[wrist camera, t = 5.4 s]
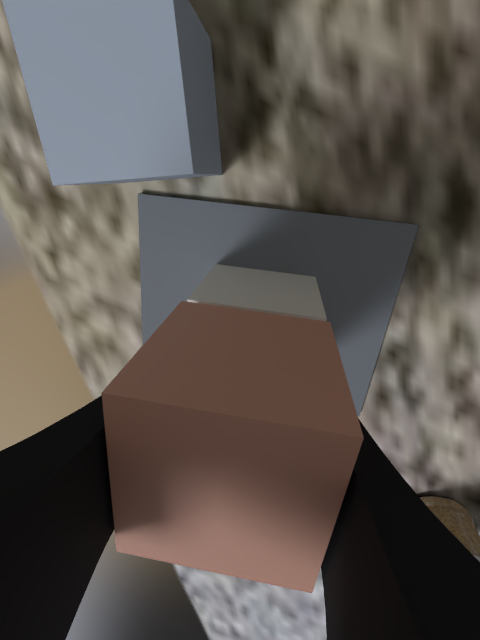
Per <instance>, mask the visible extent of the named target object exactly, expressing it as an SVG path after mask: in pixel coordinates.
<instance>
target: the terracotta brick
mask: <svg viewBox="0 0 480 640" xmlns="http://www.w3.org/2000/svg"><path fill="white" fill-rule="evenodd" d="M102 403H103V414H104V424H105V435H106V445H107V456H108V466H109V477H110V487H111V497H112V508H113V518H114V529H115V539H116V550H117V552H122V553H126V554H131V555H136V556H140V557H145V558H150V559H155V560H159V561H164V562H169V563H173V564H178V565H183V566H187V567H192V568H197V569H201V570H206V571H211V572H215V573H220V574H225V575H229V576H234V577H239V578H244V579H248V580H253V581H258V582H262V583H267V584H272V585H276V586H281V587H286V588H290V589H295V590H300V591H305V592H309V593H312V592H313V589H314V586H315V583H316V580H317V577H318V574H319V571H320V568H321V565H322V562H323V559H324V556H325V553H326V550H327V547H328V544H329V541H330V538H331V535H332V532H333V529H334V526H335V523H336V520H337V517H338V514H339V511H340V508H341V505H342V502H343V499H344V496H345V493H346V490H347V487H348V484H349V481H350V478H351V475H352V472H353V469H354V466H355V463H356V460H357V457H358V454H359V451H360V448H361V445H362V442H363V439H364V437H363V434H362V430H361V427H360V423H359V420H358V416H357V413H356V409H355V406H354V402H353V399H352V395H351V392H350V389H349V385H348V382H347V378H346V375H345V371H344V368H343V364H342V361H341V357H340V354H339V350H338V347H337V343H336V340H335V336H334V333H333V329H332V326H331V322H327V321H320V320H313V319H306V318H299V317H292V316H285V315H278V314H271V313H264V312H257V311H250V310H243V309H236V308H229V307H222V306H215V305H208V304H201V303H194V302H187V301H181V302H180V303H179V304H178V306H177V307H176V308H175V309H174V310H173V311H172V312H171V314H170V315H169V316H168V317H167V318H166V319H165V320H164V322H163V323H162V324H161V325H160V326H159V327H158V329H157V330H156V331H155V332H154V333H153V334H152V335H151V337H150V338H149V339H148V340H147V341H146V342H145V344H144V345H143V346H142V347H141V348H140V349H139V350H138V352H137V353H136V354H135V355H134V356H133V357H132V359H131V360H130V361H129V362H128V363H127V364H126V365H125V367H124V368H123V369H122V370H121V371H120V372H119V374H118V375H117V376H116V377H115V378H114V379H113V380H112V382H111V383H110V384H109V385H108V386H107V387H106V389H105V390H104V391H103V392H102Z"/></svg>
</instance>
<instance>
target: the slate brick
mask: <svg viewBox="0 0 480 640" xmlns="http://www.w3.org/2000/svg"><path fill="white" fill-rule="evenodd" d="M2 2H3V5H4V9H5V12H6V16H7V20H8V23H9V27H10V31H11V34H12V38H13V42H14V45H15V49H16V52H17V56H18V60H19V63H20V67H21V71H22V74H23V78H24V82H25V85H26V89H27V93H28V96H29V100H30V103H31V107H32V111H33V114H34V118H35V122H36V125H37V129H38V133H39V136H40V140H41V143H42V147H43V151H44V154H45V158H46V162H47V165H48V169H49V173H50V176H51V180H52V183H53V185H80V184H107V183H128V182H140V181H152V180H164V179H176V178H189V177H201V176H213V175H222V164H221V153H220V141H219V129H218V118H217V106H216V94H215V83H214V71H213V59H212V47H211V39H210V37H209V36H208V34H207V32H206V30H205V28H204V27H203V25H202V23H201V21H200V19H199V18H198V16H197V14H196V12H195V10H194V9H193V7H192V5H191V3H190V2H189V0H2Z"/></svg>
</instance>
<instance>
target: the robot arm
mask: <svg viewBox="0 0 480 640" xmlns="http://www.w3.org/2000/svg"><path fill="white" fill-rule="evenodd" d="M358 420H359V419H358ZM359 423H360V427H361V430H362V434H363V437H364V439H363V442H362V445H361V448H360V451H359V454H358V457H357V460H356V463H355V466H354V469H353V472H352V475H351V478H350V481H349V484H348V487H347V490H346V493H345V496H344V499H343V502H342V505H341V508H340V511H339V514H338V517H337V520H336V523H335V526H334V529H333V532H332V535H331V538H330V541H329V544H328V547H327V550H326V553H325V556H324V559H323V562H322V565H321V571H322V578H323V587H324V598H325V608H326V629H327V640H480V562H479V561H478V560H477V559H476V558H475V557H474V556H473V555H472V554H471V553H470V551H469V550H468V549H467V548H466V547H465V546H464V545H463V544H462V543H461V542H460V541H459V540H458V539H457V538H456V537H455V536H454V535H453V534H452V533H451V532H450V531H449V530H448V529H447V528H446V527H445V525H444V524H443V523H442V522H441V521H440V520H439V519H438V518H437V517H436V516H435V515H434V514H433V512H432V511H431V510H430V509H429V508H428V507H427V506H426V505H425V503H424V502H423V501H422V500H421V499H420V498H419V496H418V495H417V494H416V493H415V492H414V491H413V489H412V488H411V487H410V486H409V485H408V483H407V482H406V481H405V480H404V479H403V477H402V476H401V475H400V474H399V472H398V471H397V470H396V469H395V467H394V466H393V465H392V463H391V462H390V461H389V460H388V458H387V457H386V456H385V454H384V453H383V452H382V451H381V449H380V448H379V446H378V445H377V444H376V442H375V441H374V440H373V438H372V437H371V436H370V434H369V433H368V431H367V430H366V429H365V427H364V426H363V424H362V423H361V422H360V420H359ZM113 530H114V518H113V508H112V497H111V487H110V477H109V466H108V456H107V445H106V435H105V424H104V414H103V403H102V396H100V397H98V398H97V399H95V400H94V401H92V402H90V403H89V404H87V405H86V406H84V407H82V408H81V409H79V410H77V411H75V412H74V413H72V414H70V415H68V416H67V417H65V418H63V419H61V420H60V421H58V422H56V423H54V424H53V425H51V426H49V427H47V428H45V429H44V430H42V431H40V432H38V433H36V434H34V435H32V436H31V437H29V438H27V439H25V440H23V441H21V442H19V443H17V444H15V445H12V446H10V447H8V448H6V449H4V450H2V451H0V640H65V639H66V637H67V634H68V632H69V629H70V627H71V624H72V622H73V619H74V617H75V615H76V612H77V610H78V607H79V605H80V603H81V600H82V598H83V596H84V593H85V591H86V589H87V586H88V584H89V582H90V579H91V577H92V574H93V572H94V570H95V567H96V565H97V563H98V561H99V558H100V556H101V554H102V552H103V550H104V548H105V546H106V543H107V542H108V540H109V538H110V536H111V534H112V532H113Z"/></svg>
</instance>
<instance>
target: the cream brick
mask: <svg viewBox="0 0 480 640" xmlns="http://www.w3.org/2000/svg"><path fill="white" fill-rule="evenodd" d="M187 302H194V303H201V304H208V305H215V306H222V307H229V308H236V309H243V310H250V311H257V312H264V313H271V314H278V315H285V316H292V317H299V318H306V319H313V320H320V321H326V320H327V317H326V314H325V310H324V306H323V302H322V299H321V295H320V291H319V288H318V284H317V280H316V277H313V276H306V275H298V274H290V273H282V272H274V271H267V270H259V269H251V268H243V267H235V266H228V265H220V264H216V265H215V266H214V267H213V269H212V270H211V271H210V272H209V273H208V275H207V276H206V277H205V278H204V280H203V281H202V282H201V283H200V284H199V286H198V287H197V288H196V289H195V290H194V292H193V293H192V294H191V295H190V297H189V298H188V299H187Z"/></svg>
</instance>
